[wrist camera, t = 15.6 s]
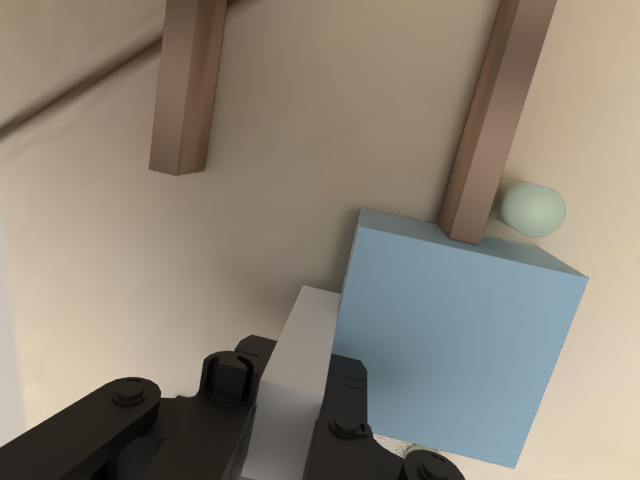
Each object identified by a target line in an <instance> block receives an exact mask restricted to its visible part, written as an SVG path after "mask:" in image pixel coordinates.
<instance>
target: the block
mask: <svg viewBox="0 0 640 480" xmlns="http://www.w3.org/2000/svg"><path fill="white" fill-rule="evenodd" d="M588 279H589V278H588V277H586V276H585V275H583V274H581V273H580V272H578V271H577V270H575V269H573V268H572V267H570V266H568V265H567V264H565V263H564V262H562V261H560V260H559V259H557V258H555V257H554V256H552V255H551V254H549V253H547V252H546V251H544V250H542V249H541V248H539V247H535V246H531V245H526V244H522V243H518V242H513V241H509V240H504V239H500V238H495V237H491V236H486V235H482V238H481V241H480V244H479V245H476V244H472V243H467V242H463V241H459V240H454V239H450V238H448V236H447V235H446V234H445V233H444V232H443V230H442V229H441V228H440V227H439V226H438V225H437V224H433V223H428V222H424V221H419V220H415V219H410V218H406V217H401V216H397V215H392V214H388V213H383V212H379V211H375V210H370V209H366V208H361V210H360V214H359V218H358V222H357V227H356V231H355V235H354V239H353V244H352V248H351V252H350V256H349V261H348V265H347V269H346V273H345V278H344V282H343V286H342V290H341V299H340V304H339V310H338V316H337V322H336V328H335V334H334V339H333V345H332V351H331V353H332V354H336V355H340V356H344V357H349V358H353V359H357V360H361V361H362V363H363V365H364V366H365V368H366V369H367V403H368V424H369V425H370V427H371V430H372V433H375V434H379V435H383V436H387V437H391V438H395V439H399V440H403V441H407V442H411V443H415V444H418V445H422V446H426V447H430V448H434V449H438V450H442V451H446V452H450V453H454V454H458V455H462V456H466V457H470V458H474V459H478V460H481V461H485V462H489V463H493V464H497V465H501V466H505V467H509V468H513V469H515V466H516V464H517V461H518V458H519V456H520V453H521V451H522V448H523V446H524V443H525V441H526V438H527V435H528V433H529V430H530V428H531V425H532V423H533V420H534V418H535V415H536V412H537V410H538V407H539V405H540V402H541V400H542V397H543V395H544V392H545V389H546V387H547V384H548V382H549V379H550V377H551V374H552V371H553V369H554V366H555V364H556V361H557V359H558V356H559V354H560V351H561V348H562V346H563V343H564V341H565V338H566V336H567V333H568V331H569V328H570V325H571V323H572V320H573V318H574V315H575V313H576V310H577V308H578V305H579V302H580V300H581V297H582V295H583V292H584V290H585V287H586V284H587V282H588Z"/></svg>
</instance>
